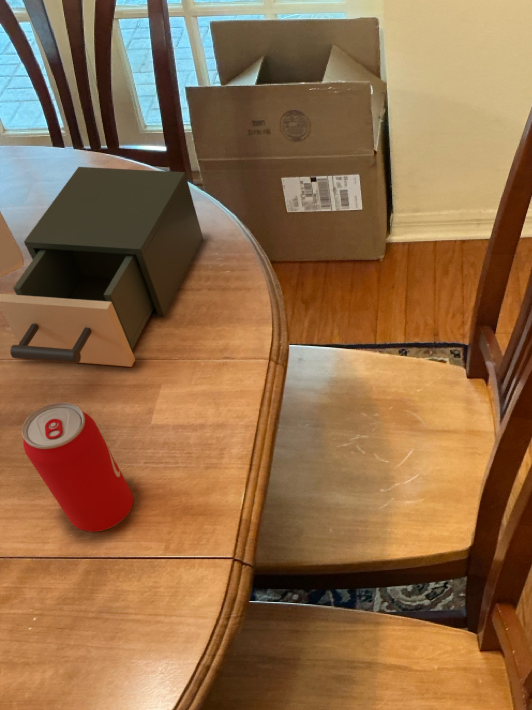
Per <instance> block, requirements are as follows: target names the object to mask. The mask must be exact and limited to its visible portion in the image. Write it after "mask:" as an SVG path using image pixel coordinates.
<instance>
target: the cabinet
mask: <svg viewBox="0 0 532 710" xmlns="http://www.w3.org/2000/svg"><path fill="white" fill-rule="evenodd" d="M189 185H190V184H189V181H188V179H187V174H186V172H185V171H171V170H169V171H167V170H149V169H133V168H132V169H130V168H127V169H126V168H112V167H109V168H108V167H92V166H91V167H90V166H78V167H77V168H76V170H75V171H74V172H73V174H72V175H71V176H70V177H69V179H68V180H67V182H66V183H65V185H63V187H62V189H61V190H60V192H59V193H57V196H56V197H55V198H54V200H53V201H52V203H51V204H50V205H49V206H48V207H47V210H46V211H45V212H44V213H43V214H42V216H41V217H40V219H39V220H38V222H37V223H36V224H35V225H34V227H33V229H32V230H31V231H30V232H29V234H28V235H27V237H26V238H25V239H24V241H23V243H24V245H25V247H26V250H27V252H28V254H29V255H30V257H31V259H32V260H33V259H34V258H35V256H36V255H37V253H38V252H39V250H40V249H56V250H72V251H87V252H103V253H119V254H134V255H136V256H137V258H138V261H139V264H140V267H141V270H142V272H143V275H144V278H145V281H146V284H147V286H148V289H149V292H150V295H151V298H152V300H153V303H154V306H155V307H154V309H153V311H152V313H151V315H150V317H151V316H153V317H165V316H166V314H167V312H168V310H169V308H170V306H171V304H172V302H173V300H174V298H175V296H176V295H177V292H178V290H179V289H180V286H181V285H182V283H183V281H184V279H185V276H186V275H187V272H188V271H189V269H190V266H191V265H192V263H193V261H194V258H195V257H196V255H197V253H198V250H199V249H200V247H201V245H202V243H203V241H204V237H203V233H202V229H201V226H200V222H199V218H198V215H197V211H196V207H195V203H194V200H193V196H192V192H191V188H190V186H189Z"/></svg>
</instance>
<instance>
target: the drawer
mask: <svg viewBox="0 0 532 710" xmlns="http://www.w3.org/2000/svg"><path fill="white" fill-rule="evenodd" d="M12 289H13V291H14V293H15V294H9V293H0V313H1V314H2V315H3V318H4V319H5V321H6V323H7V325H8V326H9V328H10V330H11V332H12V334H13V335H14V337H15V339H16V341H17V342H18V344H12V345H11V346H10V351H9V352H10V356H11V357H12V358H13V359H16V360H17V359H18V360H26V361H27V360H30V361H40V362H41V361H42V362H53V363H54V362H55V363H66V364H75V365H77V364H79V363H81V364H93V365H107V366H117V367H118V366H119V367H130V368H132V367H133V365H134V363H135V361H136V358H135V356H134V354H133V349H134V347H135V346H136V343H137V342H138V340H139V337H140V336H141V334H142V332H143V330H144V328H145V326H146V324H147V323H148V320H149V319H150V317H151V313H152V311H153V309H154V307H155V306H154V303H153V300H152V298H151V295H150V292H149V289H148V286H147V284H146V281H145V278H144V275H143V272H142V270H141V267H140V264H139V261H138V258H137V256H136V255H134V254H119V253H103V252H87V251H72V250H56V249H40V250H39V252H38V253H37V255H36V256H35V258H34V259H33V260H32V261H31V262H30V263H29V264H28V266H27V268H26V269H25V270H24V271H23V272H22V274H21V276H20V277H19V279H18V280H17V282H16V283H15V284H14V286H13V287H12Z"/></svg>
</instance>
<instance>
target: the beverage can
mask: <svg viewBox="0 0 532 710" xmlns="http://www.w3.org/2000/svg"><path fill="white" fill-rule="evenodd" d="M21 435H22V444H23V445H22V446H23V449H24V453H25V455H26V456H27V458H28V459H29V461H30V462H31V464H32V466H33V467H34V469H35V470H36V472H37V473H38V474H39V476H40V477H41V479H42V481H43V482H44V484H45V485H46V487H47V489H48V490H49V491H50V493H51V495H52V496H53V498H54V499H55V501H56V502H57V503H58V505H59V506H60V508H61V509H62V511H63V512H64V514H65V516H66V518H67V519H68V520H69V522H70V523H71V524H72V525H73V526H74V527H75V528H76V529H79V530H81V531H84V532H91V533H93V532H101V531H105V530H108V529H111V528H113V527H116V525H118V524H120V523H121V522H122V521H123V520H124V519H125V518H126V517H127V516H128V515H129V513H130V512H131V510H132V508H133V505H134V495H133V492H132V491H131V488H130V487H129V484H128V483H127V481H126V479H125V477H124V475H123V473H122V471H121V469H120V467H119V466H118V463H117V461H116V460H115V457H114V455H113V453H112V452H111V450H110V448H109V446H108V444H107V442H106V440H105V439H104V437H103V435H102V432H101V431H100V429H99V427H98V425H97V423H96V422H95V420H94V419H93V418H92V417H91V416H90V415H89V414H88V413H86V412H84V411H83V410H82V409H81V408H80V407H78V406H77V405H76V404H74V403H70V402H64V401H63V402H62V401H61V402H60V401H59V402H53V403H48V404H46V405H43V406H40V407H39V408H37V409H36V410H34V411H33V412H31V413H30V415H28V416H27V417H26V419H25V420H24V422H23V424H22V427H21Z"/></svg>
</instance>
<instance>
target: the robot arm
mask: <svg viewBox="0 0 532 710" xmlns="http://www.w3.org/2000/svg"><path fill="white" fill-rule="evenodd" d="M24 264H25V260H24V255H23V253H22V251H21V249H20V247H19V244H18V243H17V240H16V239H15V237H14V234H13V233H12V231H11V229H10V227H9V225H8V223H7V221H6V219H5V217H4V216H3V213H2V212H1V211H0V278H2V277H4V276H7V275H9V274H10V273H13V272H15V271H18V270H20V269H21V268H23V266H24Z"/></svg>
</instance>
